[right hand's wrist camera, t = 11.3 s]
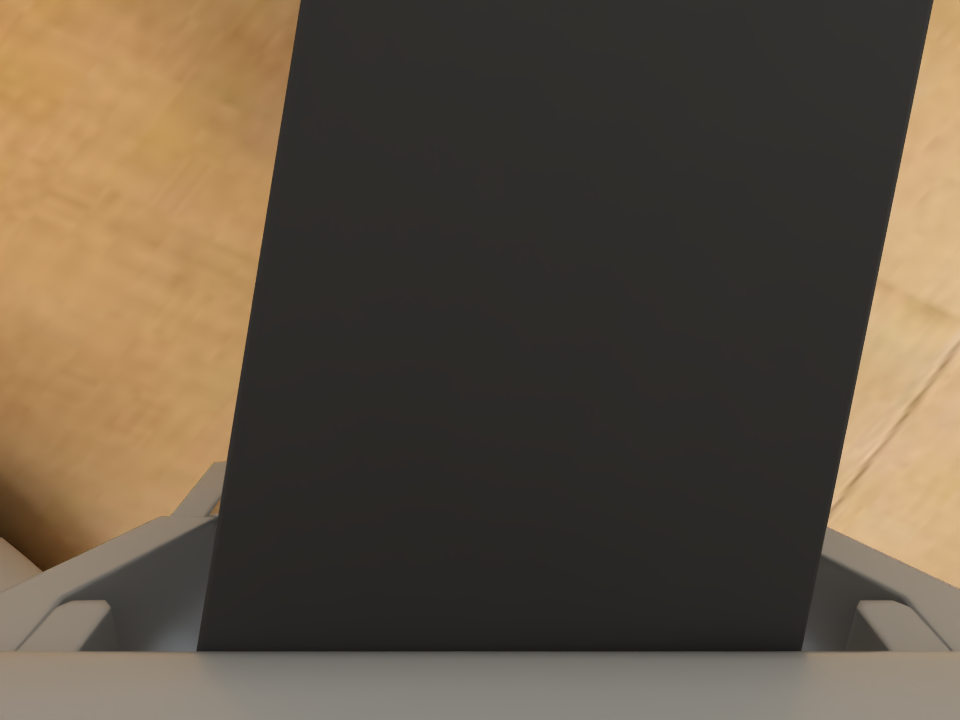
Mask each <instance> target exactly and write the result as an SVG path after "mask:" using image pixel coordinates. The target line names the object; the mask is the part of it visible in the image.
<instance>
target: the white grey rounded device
mask: <svg viewBox="0 0 960 720" xmlns="http://www.w3.org/2000/svg"><path fill="white" fill-rule="evenodd" d="M39 573H42V571H41V570H40V569H39V568H38V567H37V566H35V565H34V564H33V563H32V562H31V561H30V560H29V559H27V558H26V557H25V556H24V555H23V554H21V553H20V552H19V551H18V550H16V549H15V548H14V547H13V546H12V545H10V544H9V543H8V542H7V541H5V540H4V539H3V538H2V537H0V592H1V591H3V590H6V589H8V588H10V587H12V586H14V585H16V584H18V583H20V582H23V581H25V580H27V579H29V578H31V577H33V576H35V575H37V574H39Z"/></svg>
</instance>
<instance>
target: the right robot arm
mask: <svg viewBox="0 0 960 720" xmlns="http://www.w3.org/2000/svg"><path fill="white" fill-rule="evenodd" d="M226 463H227V461H223V462H215V463H213V464H212V465H211V467H210V468H209V469H208V470H207V472H206V473H205V474H204V475H203V477H202V478H201V479H200V480H199V481H198V483H197V484H196V485H195V486H194V488H193V489H192V490H191V491H190V493H189V494H188V495H187V496H186V497H185V499H184V500H183V501H182V502H181V504H180V505H179V506H178V507H177V509H176V510H175V511H174V512H173V513H172V515H171V516H170V517H158V518H156V519H154V520H152V521H150V522H147V523H145V524H143V525H141V526H139V527H137V528H135V529H133V530H130V531H128V532H126V533H124V534H122V535H120V536H118V537H116V538H114V539H111V540H109V541H107V542H105V543H103V544H101V545H99V546H97V547H94V548H92V549H90V550H88V551H86V552H84V553H82V554H80V555H78V556H75V557H73V558H71V559H69V560H67V561H65V562H63V563H61V564H59V565H56V566H54V567H52V568H50V569H48V570H46V571H44V572H42V573H39V574H37V575H35V576H33V577H31V578H29V579H27V580H25V581H23V582H20V583H18V584H16V585H14V586H12V587H10V588H8V589H6V590H3V591H1V592H0V720H960V589H958V588H956V587H954V586H952V585H950V584H948V583H945V582H943V581H941V580H939V579H937V578H935V577H933V576H931V575H928V574H926V573H924V572H922V571H920V570H918V569H916V568H914V567H911V566H909V565H907V564H905V563H903V562H901V561H899V560H897V559H894V558H892V557H890V556H888V555H886V554H884V553H882V552H880V551H877V550H875V549H873V548H871V547H869V546H867V545H865V544H863V543H860V542H858V541H856V540H854V539H852V538H850V537H848V536H846V535H843V534H841V533H839V532H837V531H835V530H833V529H831V528H829V527H827V528H826V533H825V538H824V543H823V548H822V552H821V557H820V562H819V567H818V572H817V577H816V582H815V587H814V592H813V597H812V602H811V607H810V612H809V617H808V622H807V626H806V631H805V636H804V641H803V646H802V651H196V650H197V644H198V637H199V631H200V625H201V619H202V612H203V606H204V600H205V594H206V588H207V581H208V575H209V569H210V563H211V556H212V550H213V544H214V538H215V532H216V525H217V519H218V513H219V507H220V500H221V494H222V488H223V482H224V476H225V469H226Z"/></svg>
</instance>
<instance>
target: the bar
mask: <svg viewBox="0 0 960 720" xmlns="http://www.w3.org/2000/svg"><path fill="white" fill-rule="evenodd" d="M932 5H933V0H301V3H300V9H299V15H298V22H297V28H296V34H295V40H294V46H293V53H292V59H291V65H290V71H289V78H288V84H287V90H286V96H285V102H284V109H283V115H282V121H281V127H280V134H279V140H278V146H277V152H276V158H275V165H274V171H273V177H272V183H271V189H270V196H269V202H268V208H267V214H266V221H265V227H264V233H263V239H262V245H261V252H260V258H259V264H258V270H257V277H256V283H255V289H254V295H253V301H252V308H251V314H250V320H249V326H248V333H247V339H246V345H245V351H244V357H243V364H242V370H241V376H240V382H239V389H238V395H237V401H236V407H235V413H234V420H233V426H232V432H231V438H230V445H229V451H228V457H227V463H226V469H225V476H224V482H223V488H222V494H221V500H220V507H219V513H218V519H217V525H216V532H215V538H214V544H213V550H212V556H211V563H210V569H209V575H208V581H207V588H206V594H205V600H204V606H203V612H202V619H201V625H200V631H199V637H198V644H197V650H196V651H802V646H803V641H804V636H805V631H806V626H807V622H808V617H809V612H810V607H811V602H812V597H813V592H814V587H815V582H816V577H817V572H818V567H819V562H820V557H821V552H822V548H823V543H824V538H825V533H826V528H827V523H828V518H829V513H830V508H831V503H832V498H833V493H834V488H835V483H836V478H837V474H838V469H839V464H840V459H841V454H842V449H843V444H844V439H845V434H846V429H847V424H848V419H849V414H850V409H851V404H852V399H853V395H854V390H855V385H856V380H857V375H858V370H859V365H860V360H861V355H862V350H863V345H864V340H865V335H866V330H867V325H868V321H869V316H870V311H871V306H872V301H873V296H874V291H875V286H876V281H877V276H878V271H879V266H880V261H881V256H882V251H883V247H884V242H885V237H886V232H887V227H888V222H889V217H890V212H891V207H892V202H893V197H894V192H895V187H896V182H897V177H898V173H899V168H900V163H901V158H902V153H903V148H904V143H905V138H906V133H907V128H908V123H909V118H910V113H911V108H912V103H913V98H914V94H915V89H916V84H917V79H918V74H919V69H920V64H921V59H922V54H923V49H924V44H925V39H926V34H927V29H928V24H929V20H930V15H931V10H932Z"/></svg>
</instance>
